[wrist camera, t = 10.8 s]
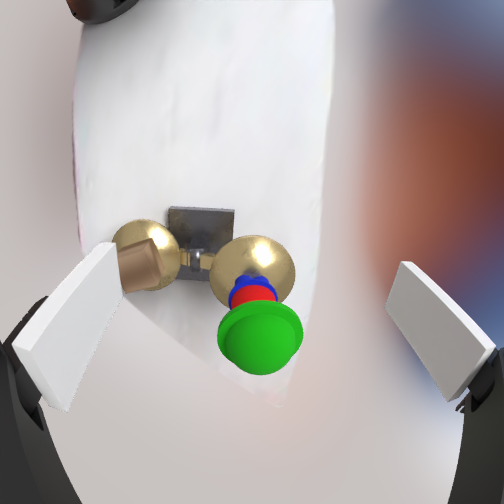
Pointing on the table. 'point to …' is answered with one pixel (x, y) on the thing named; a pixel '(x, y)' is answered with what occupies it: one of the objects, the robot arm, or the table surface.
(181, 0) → the table surface
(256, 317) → the toy
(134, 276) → the walnut block
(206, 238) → the balance
